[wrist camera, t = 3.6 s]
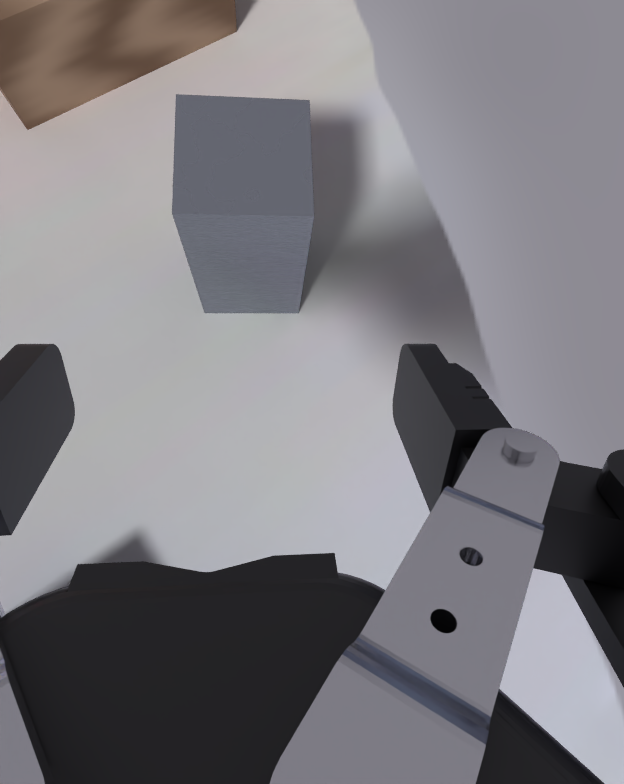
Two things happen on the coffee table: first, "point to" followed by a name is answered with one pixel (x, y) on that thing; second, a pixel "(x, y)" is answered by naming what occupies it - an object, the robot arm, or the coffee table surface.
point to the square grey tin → (244, 200)
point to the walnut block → (96, 47)
